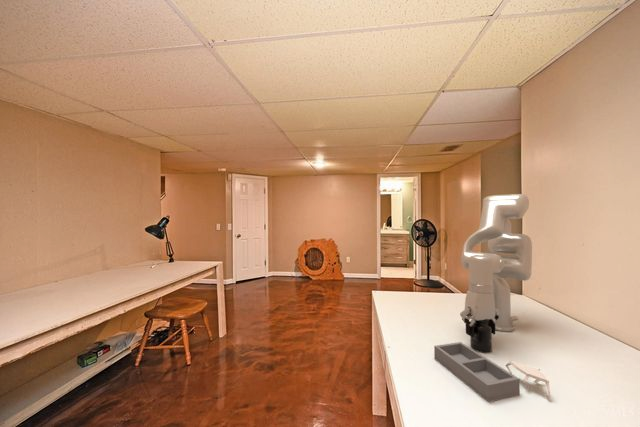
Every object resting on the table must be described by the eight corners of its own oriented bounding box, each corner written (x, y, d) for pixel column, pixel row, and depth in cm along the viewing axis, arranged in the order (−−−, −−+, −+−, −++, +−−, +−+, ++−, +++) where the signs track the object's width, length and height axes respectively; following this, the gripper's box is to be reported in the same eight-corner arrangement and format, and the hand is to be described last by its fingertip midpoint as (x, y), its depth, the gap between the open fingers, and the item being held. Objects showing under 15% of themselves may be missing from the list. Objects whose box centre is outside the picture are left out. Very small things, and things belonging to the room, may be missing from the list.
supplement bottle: (495, 354, 91) (495, 321, 91) (474, 352, 92) (474, 319, 92) (486, 344, 97) (486, 313, 97) (467, 343, 99) (467, 312, 99)
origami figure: (558, 390, 72) (558, 373, 72) (549, 403, 67) (549, 384, 67) (509, 369, 82) (509, 354, 82) (498, 379, 77) (497, 362, 77)
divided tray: (460, 354, 91) (460, 341, 91) (519, 395, 70) (519, 378, 70) (434, 358, 88) (434, 345, 88) (487, 402, 68) (487, 385, 68)
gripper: (490, 284, 100) (490, 327, 100) (453, 286, 96) (453, 332, 96) (508, 289, 93) (508, 336, 93) (469, 292, 89) (469, 341, 89)
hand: (480, 334), depth 94 cm, fingers open, 9 cm apart
